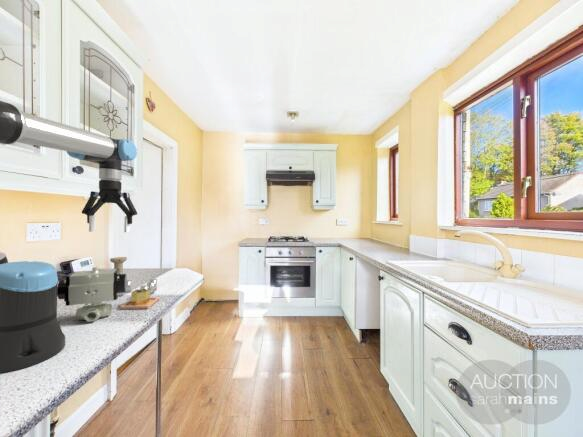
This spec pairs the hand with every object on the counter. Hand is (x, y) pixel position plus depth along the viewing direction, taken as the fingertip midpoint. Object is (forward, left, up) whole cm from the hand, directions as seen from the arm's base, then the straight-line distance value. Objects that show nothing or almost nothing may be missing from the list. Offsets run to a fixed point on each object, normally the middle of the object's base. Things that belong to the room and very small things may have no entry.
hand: (109, 231), depth 102 cm
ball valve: (-18, -6, -29) cm, 35 cm away
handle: (+15, +5, -29) cm, 33 cm away
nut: (-5, -15, -28) cm, 32 cm away
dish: (-5, -15, -29) cm, 33 cm away
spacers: (+8, -6, -29) cm, 30 cm away
